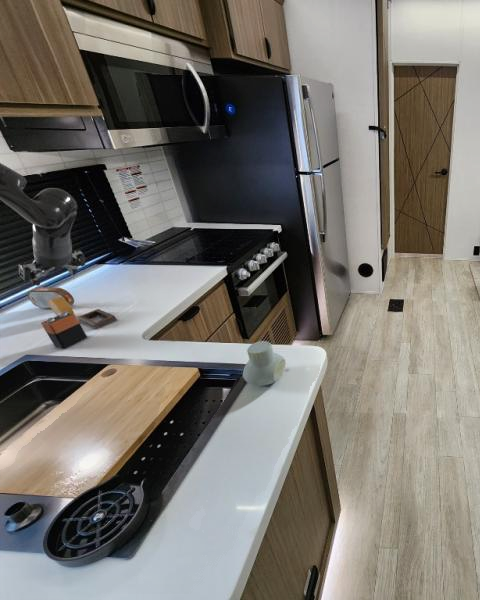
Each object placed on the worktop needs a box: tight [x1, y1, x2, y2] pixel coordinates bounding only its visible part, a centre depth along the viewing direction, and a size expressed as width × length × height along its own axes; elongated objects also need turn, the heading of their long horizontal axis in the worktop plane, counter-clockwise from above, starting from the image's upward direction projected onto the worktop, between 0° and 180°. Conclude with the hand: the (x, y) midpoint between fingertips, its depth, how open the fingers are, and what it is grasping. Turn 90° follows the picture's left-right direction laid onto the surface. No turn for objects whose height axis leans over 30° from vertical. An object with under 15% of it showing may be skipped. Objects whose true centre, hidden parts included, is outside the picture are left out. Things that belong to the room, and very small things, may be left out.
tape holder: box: [76, 308, 118, 330], centre depth 117 cm, size 6×12×2 cm, turn 63°
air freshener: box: [242, 340, 286, 387], centre depth 86 cm, size 11×8×10 cm
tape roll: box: [49, 297, 75, 316], centre depth 118 cm, size 3×8×8 cm, turn 63°
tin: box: [26, 286, 75, 310], centre depth 125 cm, size 15×3×8 cm, turn 88°
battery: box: [40, 311, 88, 350], centre depth 103 cm, size 4×7×10 cm, turn 163°
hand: (54, 278), depth 102 cm, fingers open, 8 cm apart
